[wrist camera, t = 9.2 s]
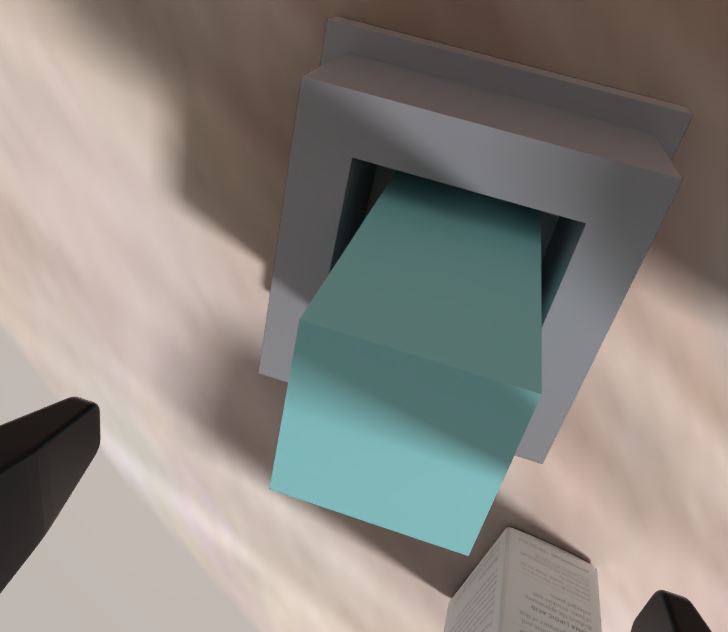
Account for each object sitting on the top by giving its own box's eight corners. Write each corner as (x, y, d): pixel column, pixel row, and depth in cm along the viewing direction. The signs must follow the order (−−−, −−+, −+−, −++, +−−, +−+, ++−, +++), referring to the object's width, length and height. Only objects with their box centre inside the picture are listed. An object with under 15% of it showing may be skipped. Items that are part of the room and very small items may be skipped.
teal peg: (540, 190, 18) (542, 394, 10) (498, 306, 20) (468, 556, 12) (407, 153, 19) (299, 319, 10) (378, 271, 21) (269, 489, 12)
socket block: (685, 106, 17) (732, 156, 13) (554, 388, 23) (557, 488, 18) (337, 15, 18) (276, 35, 14) (288, 306, 24) (234, 384, 19)
